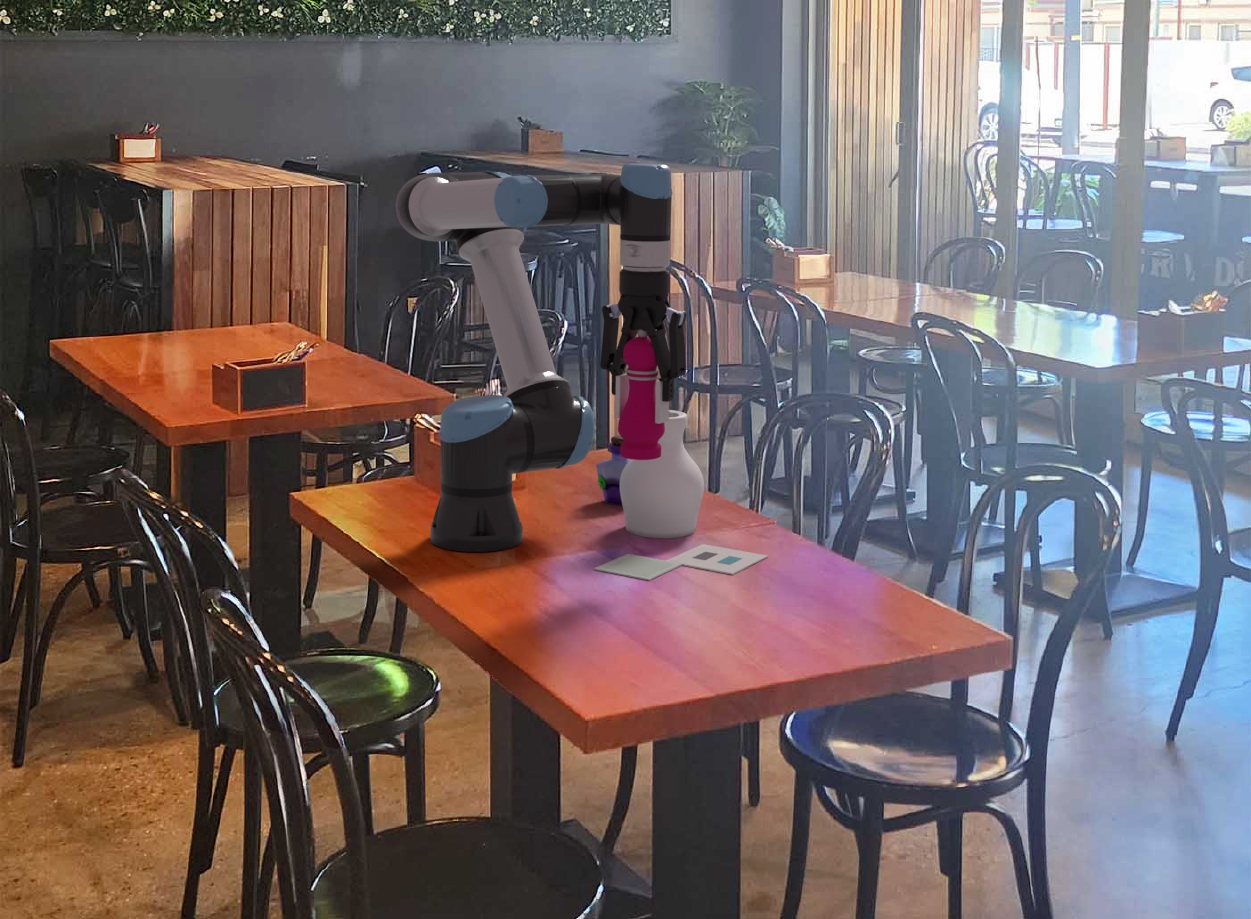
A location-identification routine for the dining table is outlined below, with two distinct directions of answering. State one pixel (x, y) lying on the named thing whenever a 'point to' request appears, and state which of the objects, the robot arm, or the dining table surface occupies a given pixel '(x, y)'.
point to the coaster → (638, 567)
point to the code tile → (717, 559)
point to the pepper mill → (640, 402)
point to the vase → (663, 488)
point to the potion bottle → (612, 472)
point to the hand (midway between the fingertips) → (641, 419)
